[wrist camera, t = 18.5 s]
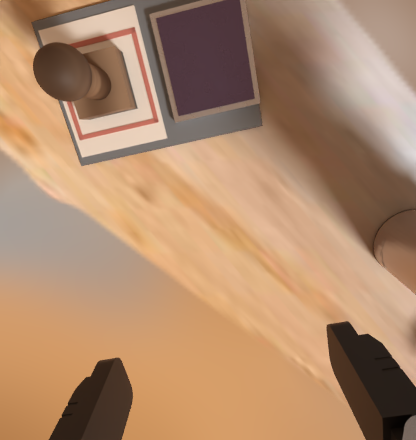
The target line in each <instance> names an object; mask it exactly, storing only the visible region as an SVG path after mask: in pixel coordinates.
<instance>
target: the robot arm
mask: <svg viewBox="0 0 416 440" xmlns="http://www.w3.org/2000/svg"><path fill="white" fill-rule="evenodd" d="M374 254H375V257H376V259H377V261H378V262H379V263H380V264H381V265H382V266H383V267H384V268H385V269H386V270H387V271H389V272H390V273H391V274H392V275H393V276H395V277H396V278H397V279H398V280H399V281H400V282H401V283H403V284H404V285H405V286H406V287H407V288H409V289H410V290H411V291H412V292H413V293H414V294H416V210H408V211H404V212H401V213H398V214H396V215H395V216H393V217H391V218H390V219H389V220H388V221H386V222H385V223H384V224H383V225H382V227H381V228H380V229H379V231H378V233H377V235H376V237H375V241H374ZM327 337H328V347H329V356H330V362H331V365H332V369H333V371H334V374H335V376H336V378H337V381H338V383H339V385H340V387H341V389H342V391H343V393H344V395H345V397H346V399H347V401H348V403H349V405H350V408H351V410H352V412H353V414H354V416H355V418H356V420H357V422H358V424H359V426H360V428H361V430H362V432H363V435H364V437H365V439H366V440H416V387H415V386H414V384H413V383H412V382H411V380H410V379H409V378H408V377H407V375H406V374H405V373H404V371H403V370H402V369H400V366H399V365H398V363H397V362H396V361H395V360H394V359H393V358H392V356H391V354H390V353H389V352H388V350H387V349H386V348H385V346H384V345H383V344H382V343H381V342H379V341H378V340H376V339H375V338H373V337H372V336H371V335H369V334H364V335H358V334H357V333H356V331H355V330H354V328H353V327H352V325H351V324H350V323H349V322H348V321H346V322H340V323H334V324H328V325H327ZM132 399H133V392H132V387H131V384H130V381H129V379H128V376H127V374H126V371H125V368H124V366H123V363H122V361H121V360H120V358H113V359H107V360H101V361H99V362H98V363H97V365H96V366H95V369H94V371H93V373H92V375H91V377H86V378H85V379H84V380H83V381H82V382H81V384H80V385H79V386H78V387H77V388H76V390H75V391H74V393H73V394H72V397H71V398H70V400H69V402H68V406H66V408H65V410H64V412H63V414H62V418H60V419H59V421H58V423H57V425H56V427H55V429H54V431H53V433H52V435H51V437H50V439H49V440H121V439H122V436H123V433H124V429H125V426H126V422H127V418H128V415H129V412H130V409H131V405H132Z"/></svg>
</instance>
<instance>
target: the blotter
mask: <svg viewBox="0 0 416 440" xmlns="http://www.w3.org/2000/svg"><path fill="white" fill-rule="evenodd" d="M197 1H201V0H111V1H107V2H104V3H100V4H96V5H93V6H89V7H85V8H82V9H78V10H74V11H71V12H67V13H63V14H60V15H56V16H52V17H49V18H45V19H41V20H37V21H34V22H32V25H33V28H34V31H35V34H36V37H37V40H38V42H39V45H40V48H41V47H43V46H44V45H46V44H49V43H53V42H60V43H65V44H68V45H70V46H72V47H74V48H76V49H77V50H78V51H80V52H81V53H82V54H84V53H88V52H92V51H96V50H100V49H104V48H108V47H112V46H115V47H117V48H118V49H119V50H120V51H122V52H123V56H124V59H125V63H126V67H127V70H128V74H129V78H130V82H131V85H132V89H133V93H134V96H135V100H136V104H137V107H138V109H134V110H129V111H125V112H121V113H117V114H112V115H108V116H104V117H100V118H95V119H91V120H80V119H79V117H78V114H77V111H76V108H75V105H74V102H73V101H71V102H66V101H61V100H59V103H60V105H61V108H62V111H63V114H64V117H65V120H66V123H67V126H68V128H69V131H70V134H71V137H72V140H73V143H74V146H75V148H76V151H77V154H78V157H79V160H80V163H81V166H84V165H89V164H93V163H98V162H102V161H107V160H111V159H116V158H120V157H125V156H129V155H133V154H138V153H142V152H147V151H151V150H156V149H160V148H165V147H169V146H174V145H178V144H183V143H187V142H192V141H196V140H201V139H205V138H210V137H214V136H219V135H223V134H228V133H232V132H237V131H241V130H246V129H250V128H254V127H259V126H262V120H261V113H260V107H259V104H256V105H252V106H247V107H243V108H239V109H234V110H230V111H225V112H221V113H217V114H212V115H208V116H204V117H199V118H195V119H191V120H186V121H182V122H178V123H175V120H174V116H173V112H172V108H171V103H170V99H169V95H168V91H167V87H166V82H165V78H164V74H163V70H162V66H161V61H160V57H159V53H158V49H157V45H156V40H155V36H154V32H153V28H152V24H151V19H150V15H149V14H152V13H156V12H159V11H163V10H167V9H171V8H174V7H178V6H182V5H186V4H190V3H193V2H197Z"/></svg>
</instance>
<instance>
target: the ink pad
mask: <svg viewBox="0 0 416 440" xmlns="http://www.w3.org/2000/svg"><path fill="white" fill-rule="evenodd" d="M149 15H150V19H151V24H152V28H153V32H154V36H155V40H156V45H157V49H158V53H159V57H160V61H161V66H162V70H163V74H164V78H165V82H166V87H167V91H168V95H169V99H170V103H171V108H172V112H173V116H174V120H175V123H178V122H182V121H186V120H191V119H195V118H199V117H204V116H208V115H212V114H217V113H221V112H225V111H230V110H234V109H239V108H243V107H247V106H252V105H256V104H260V103H261V102H260V95H259V89H258V82H257V75H256V68H255V62H254V55H253V48H252V41H251V35H250V28H249V21H248V14H247V7H246V1H245V0H201V1H197V2H193V3H190V4H186V5H182V6H178V7H174V8H171V9H167V10H163V11H159V12H156V13H152V14H149Z"/></svg>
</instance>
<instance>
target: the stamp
mask: <svg viewBox="0 0 416 440" xmlns="http://www.w3.org/2000/svg"><path fill="white" fill-rule="evenodd" d="M33 70H34V75H35V78H36V80H37V82H38V84H39V85H40V87H41V88H42V89H43V90H44V91H45V92H46V93H47V94H49V95H50V96H52V97H53V98H55V99H58V100H61V101H66V102H71V101H73V102H74V105H75V108H76V111H77V114H78V117H79V119H80V120H91V119H95V118H100V117H104V116H108V115H112V114H117V113H121V112H125V111H129V110H134V109H138V107H137V104H136V100H135V96H134V93H133V89H132V85H131V82H130V78H129V74H128V70H127V67H126V63H125V59H124V56H123V52H122V51H120V50H119V49H118V48H117V47H115V46H112V47H108V48H104V49H100V50H96V51H92V52H88V53H84V54H82V53H81V52H80V51H78V50H77V49H76V48H74V47H72V46H70V45H68V44H65V43H60V42H53V43H49V44H46V45H44V46H43V47H41V48H40V49H39V50H38V52H37V53H36V55H35V58H34V62H33Z"/></svg>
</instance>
